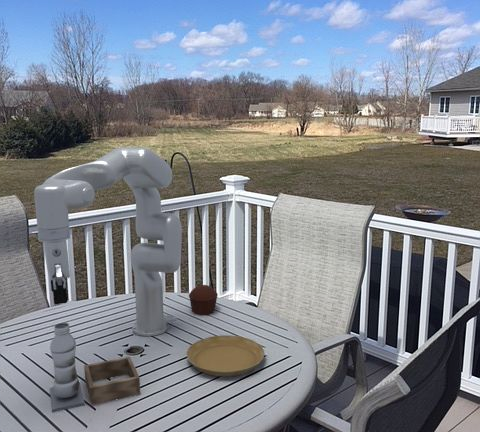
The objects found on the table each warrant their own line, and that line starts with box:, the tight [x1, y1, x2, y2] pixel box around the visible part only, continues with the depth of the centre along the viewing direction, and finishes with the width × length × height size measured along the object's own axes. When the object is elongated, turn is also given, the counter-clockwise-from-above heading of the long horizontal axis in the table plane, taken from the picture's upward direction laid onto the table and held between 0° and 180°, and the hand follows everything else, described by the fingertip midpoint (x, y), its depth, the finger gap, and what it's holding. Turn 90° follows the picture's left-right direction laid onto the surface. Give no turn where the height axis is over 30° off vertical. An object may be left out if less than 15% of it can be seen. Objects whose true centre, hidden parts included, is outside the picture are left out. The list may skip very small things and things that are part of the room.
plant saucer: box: [186, 334, 265, 378], centre depth 150 cm, size 24×24×3 cm
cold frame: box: [83, 356, 141, 406], centre depth 134 cm, size 13×13×5 cm
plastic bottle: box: [49, 322, 80, 399], centre depth 128 cm, size 6×7×20 cm
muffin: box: [188, 284, 219, 316], centre depth 188 cm, size 12×11×10 cm
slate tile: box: [49, 381, 85, 413], centre depth 130 cm, size 8×11×1 cm
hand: (59, 296), depth 125 cm, fingers open, 9 cm apart
